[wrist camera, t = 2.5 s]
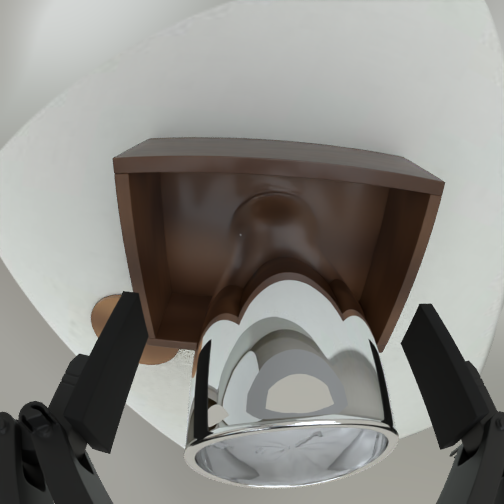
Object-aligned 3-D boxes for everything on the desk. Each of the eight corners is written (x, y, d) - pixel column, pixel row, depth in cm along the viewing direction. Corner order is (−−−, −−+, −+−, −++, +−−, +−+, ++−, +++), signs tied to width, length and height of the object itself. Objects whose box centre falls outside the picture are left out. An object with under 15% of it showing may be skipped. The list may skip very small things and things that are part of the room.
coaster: (81, 290, 24) (79, 292, 23) (174, 299, 24) (173, 302, 23) (106, 355, 28) (105, 357, 28) (185, 366, 28) (184, 369, 28)
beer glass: (324, 181, 18) (441, 392, 5) (324, 273, 22) (376, 476, 9) (214, 191, 19) (137, 418, 6) (230, 281, 22) (207, 489, 9)
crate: (149, 138, 17) (112, 158, 12) (403, 156, 17) (445, 182, 13) (164, 296, 24) (146, 345, 19) (364, 305, 24) (382, 352, 19)
